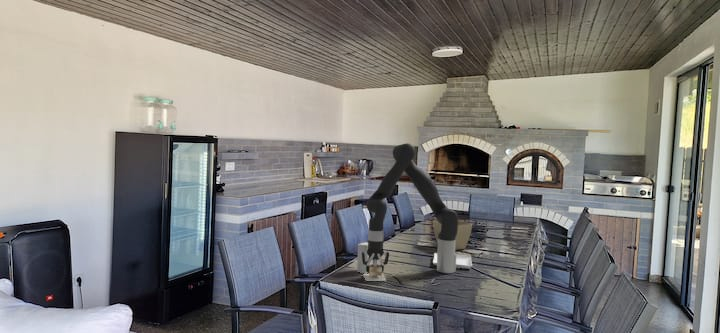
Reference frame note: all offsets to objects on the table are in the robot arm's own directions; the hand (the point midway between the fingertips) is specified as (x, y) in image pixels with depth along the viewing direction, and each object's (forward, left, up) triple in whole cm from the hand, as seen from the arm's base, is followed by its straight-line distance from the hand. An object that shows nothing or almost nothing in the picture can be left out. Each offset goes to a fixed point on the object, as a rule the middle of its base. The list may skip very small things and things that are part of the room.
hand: (374, 272), depth 215 cm
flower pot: (-60, -63, -3) cm, 87 cm away
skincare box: (+3, -12, -3) cm, 13 cm away
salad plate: (-48, -25, -4) cm, 55 cm away
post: (0, 0, -3) cm, 3 cm away
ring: (0, 0, -1) cm, 1 cm away
